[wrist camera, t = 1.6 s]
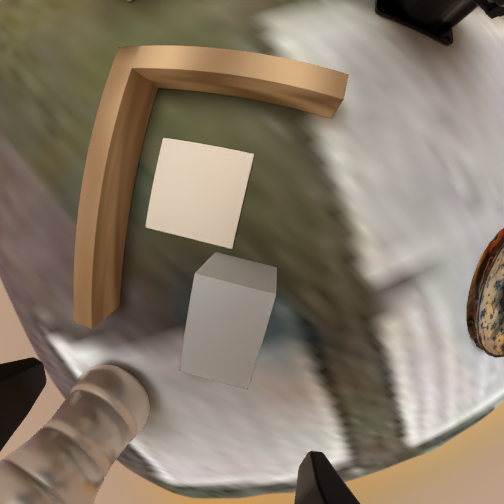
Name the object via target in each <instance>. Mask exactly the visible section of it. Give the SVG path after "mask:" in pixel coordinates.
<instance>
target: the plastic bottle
mask: <svg viewBox="0 0 504 504" xmlns="http://www.w3.org/2000/svg"><path fill="white" fill-rule="evenodd" d="M149 412H150V403H149V399H148V396H147V393H146V391H145V389H144V387H143V386H142V384H141V383H140V382H139V381H138V380H137V379H136V378H135V377H134V376H133V375H132V374H130V373H129V372H127V371H126V370H124V369H122V368H120V367H117V366H114V365H103V364H102V365H96V366H94V367H92V368H90V369H89V370H87V371H85V372H84V373H83V374H82V375H81V376H80V377H79V379H78V380H77V382H76V383H75V384H74V386H73V388H72V390H71V392H70V394H69V396H68V397H67V398H66V400H65V401H64V402H63V404H62V405H61V406H60V408H59V409H58V410H57V412H56V413H55V414H54V416H53V417H52V418H51V420H49V421H48V422H47V423H46V424H45V425H44V426H43V428H41V429H40V430H39V431H38V432H37V433H36V434H35V435H34V436H33V437H32V438H30V439H29V440H28V441H27V442H25V443H24V444H23V445H21V446H20V447H19V448H17V449H16V450H15V451H13V452H12V453H10V454H9V455H8V456H6V457H5V459H2V460H1V461H0V504H93V503H94V501H95V497H96V495H97V493H98V491H99V489H100V487H101V485H102V483H103V481H104V477H105V476H106V475H107V473H108V471H109V469H110V467H111V465H112V464H113V463H114V461H115V460H116V459H117V458H118V456H119V455H120V454H121V452H122V451H123V450H124V448H125V447H126V446H127V444H128V443H129V442H130V441H131V440H133V439H134V438H135V437H136V436H137V435H138V433H139V432H140V431H141V430H142V429H143V427H144V426H145V425H146V422H147V419H148V415H149Z"/></svg>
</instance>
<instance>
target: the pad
mask: <svg viewBox="0 0 504 504" xmlns="http://www.w3.org/2000/svg"><path fill="white" fill-rule="evenodd" d="M253 158H254V154H251V153H246V152H242V151H237V150H232V149H227V148H222V147H216V146H211V145H205V144H200V143H194V142H188V141H181V140H175V139H168V138H163V141H162V145H161V150H160V154H159V158H158V163H157V167H156V172H155V177H154V182H153V187H152V192H151V197H150V203H149V208H148V214H147V220H146V226H145V227H146V228H150V229H154V230H158V231H162V232H166V233H170V234H174V235H178V236H182V237H186V238H190V239H194V240H198V241H202V242H206V243H210V244H214V245H218V246H222V247H226V248H230V249H232V248H233V244H234V239H235V235H236V230H237V226H238V222H239V217H240V213H241V209H242V204H243V200H244V196H245V192H246V187H247V183H248V179H249V175H250V171H251V166H252V162H253Z"/></svg>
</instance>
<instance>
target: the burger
mask: <svg viewBox="0 0 504 504" xmlns="http://www.w3.org/2000/svg"><path fill="white" fill-rule="evenodd" d="M488 246H489V247H487V248H486V250H485V251H484V253H483V255H482V257H481V259H480V261H479V263H478V266H477V269H476V272H475V274H474V277H473V280H472V284H471V288H470V291H469V297H468V304H467V326H468V331H469V334H470V335H471V336H472V337H471V336H470V337H471V338H473V337H475V339H473V340H474V342H475V344H476V342H477V343H478V344H476V346H477V347H479V348H480V349H482V350H484V351H485V352H486V353H487V354H488V355H489V356H493V357H496V358H497V357H504V229H502V230H500V232H499V233H498V237H497V239H496V240H494V241H491V243H490V245H488Z"/></svg>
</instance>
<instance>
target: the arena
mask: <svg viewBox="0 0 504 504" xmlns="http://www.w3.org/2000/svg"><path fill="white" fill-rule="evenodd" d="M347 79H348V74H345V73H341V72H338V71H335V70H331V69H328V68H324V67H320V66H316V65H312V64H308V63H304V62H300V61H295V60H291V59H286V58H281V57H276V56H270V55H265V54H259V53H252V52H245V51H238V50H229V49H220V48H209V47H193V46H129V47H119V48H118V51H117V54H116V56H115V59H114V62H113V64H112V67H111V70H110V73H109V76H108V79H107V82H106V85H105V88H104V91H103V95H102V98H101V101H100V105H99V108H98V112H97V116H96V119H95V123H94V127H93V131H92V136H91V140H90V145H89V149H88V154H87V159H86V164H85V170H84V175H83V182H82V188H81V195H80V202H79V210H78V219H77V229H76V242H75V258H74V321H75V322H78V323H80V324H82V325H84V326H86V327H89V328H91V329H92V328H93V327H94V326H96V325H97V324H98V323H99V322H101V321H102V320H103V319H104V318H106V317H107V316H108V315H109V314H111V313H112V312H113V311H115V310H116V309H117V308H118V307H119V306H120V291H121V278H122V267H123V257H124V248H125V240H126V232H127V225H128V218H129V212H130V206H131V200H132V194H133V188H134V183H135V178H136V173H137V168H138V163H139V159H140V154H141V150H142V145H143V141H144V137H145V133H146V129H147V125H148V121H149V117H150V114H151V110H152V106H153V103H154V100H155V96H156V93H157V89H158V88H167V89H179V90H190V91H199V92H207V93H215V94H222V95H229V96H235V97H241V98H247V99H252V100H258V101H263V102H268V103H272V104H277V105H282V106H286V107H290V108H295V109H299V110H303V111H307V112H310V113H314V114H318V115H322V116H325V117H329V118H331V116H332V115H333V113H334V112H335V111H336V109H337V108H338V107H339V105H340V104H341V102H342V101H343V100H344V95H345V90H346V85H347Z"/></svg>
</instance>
